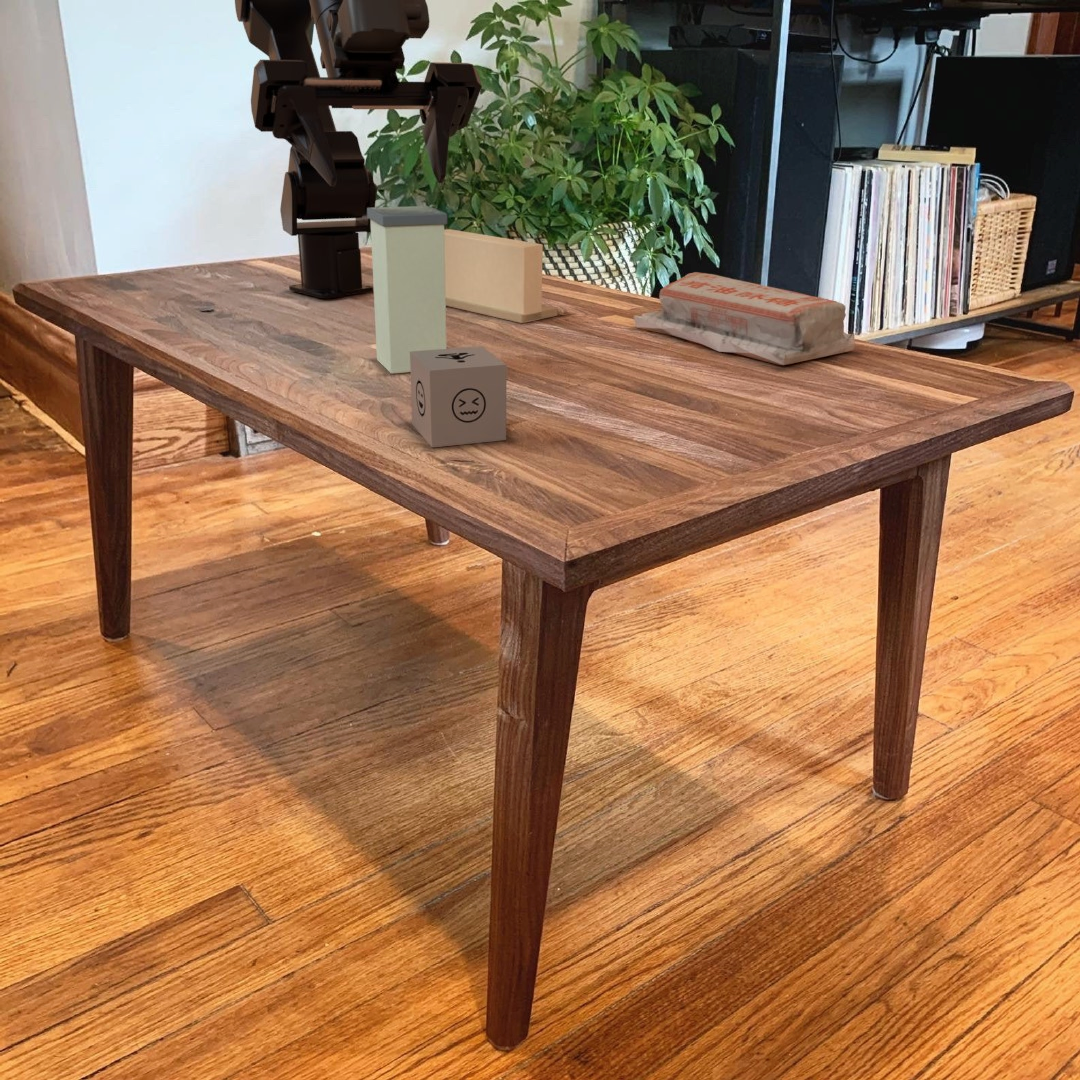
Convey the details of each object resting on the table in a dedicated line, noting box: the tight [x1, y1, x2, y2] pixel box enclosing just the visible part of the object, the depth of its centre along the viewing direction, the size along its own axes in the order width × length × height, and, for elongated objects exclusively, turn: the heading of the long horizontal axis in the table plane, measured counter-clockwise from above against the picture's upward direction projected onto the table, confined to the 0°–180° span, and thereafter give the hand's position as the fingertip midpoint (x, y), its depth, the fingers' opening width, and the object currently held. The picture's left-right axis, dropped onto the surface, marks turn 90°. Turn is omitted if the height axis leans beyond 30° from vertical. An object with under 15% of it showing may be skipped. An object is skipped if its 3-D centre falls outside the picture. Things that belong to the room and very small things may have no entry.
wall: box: [444, 228, 559, 324], centre depth 106 cm, size 13×5×7 cm, turn 46°
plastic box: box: [367, 205, 448, 375], centre depth 85 cm, size 5×5×12 cm
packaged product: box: [633, 271, 856, 366], centre depth 96 cm, size 18×5×10 cm
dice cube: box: [409, 346, 508, 449], centre depth 70 cm, size 5×5×5 cm
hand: (389, 181), depth 89 cm, fingers open, 9 cm apart
